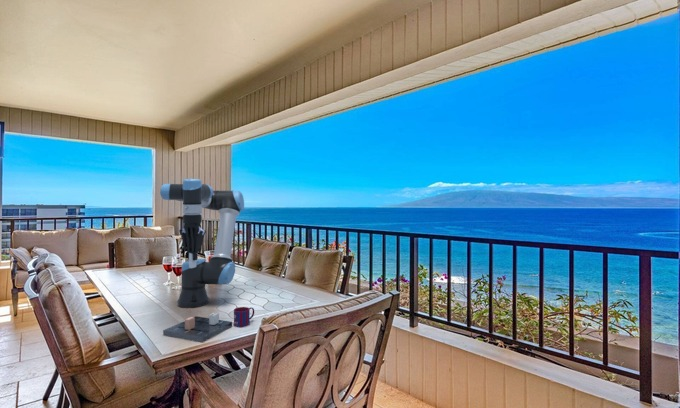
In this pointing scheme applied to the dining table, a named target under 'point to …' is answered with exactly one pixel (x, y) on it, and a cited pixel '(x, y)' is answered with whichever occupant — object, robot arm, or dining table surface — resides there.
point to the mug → (242, 316)
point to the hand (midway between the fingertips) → (192, 267)
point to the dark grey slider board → (197, 330)
